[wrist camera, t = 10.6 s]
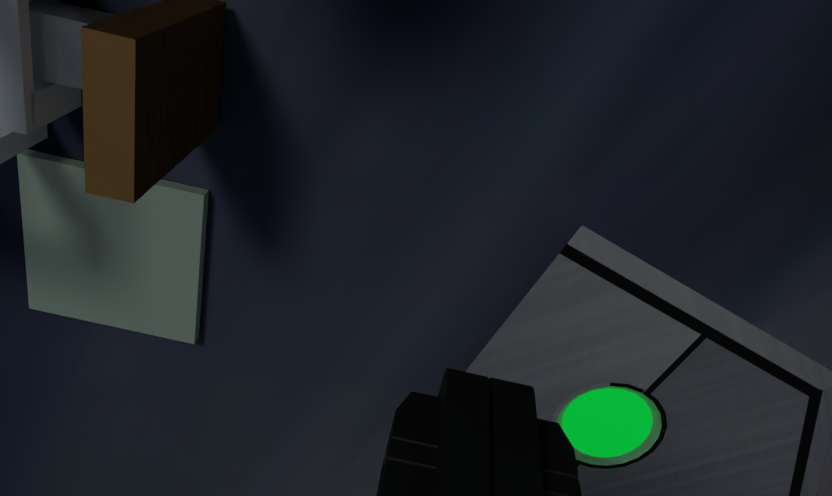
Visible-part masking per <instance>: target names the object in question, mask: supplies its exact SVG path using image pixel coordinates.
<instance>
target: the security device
mask: <svg viewBox="0 0 832 496" xmlns="http://www.w3.org/2000/svg"><path fill="white" fill-rule="evenodd" d="M465 372H468V373H473V374H477V375H482V376H486V377H488V378H489V379H490V378H491V377H492V378H496V379H501V380H506V381H510V382H515V383H519V384H524V385H529V386H532V387H533V388H534V392H535V401H536V412H537V418H538V419H542V420H547V421H552V422H556V423H559V425H560V426H561V428H562V430H563V431H564V433H565V434H566V436H567V438H568V439H569V441H570V442H571V444H572V446H573V447H574V451H575V457H576V463H577V469H578V480H579V482H580V488H581V495H582V496H817V492H818V488H819V484H820V479H821V475H822V471H823V467H824V463H825V459H826V455H827V451H828V447H829V443H830V438H831V434H832V371H830V370H829V369H827V368H825V367H823V366H822V365H820V364H818V363H817V362H815V361H813V360H812V359H810V358H808V357H806V356H805V355H803V354H801V353H800V352H798V351H796V350H794V349H793V348H791V347H789V346H788V345H786V344H784V343H782V342H781V341H779V340H777V339H776V338H774V337H772V336H770V335H769V334H767V333H765V332H764V331H762V330H760V329H759V328H757V327H755V326H753V325H752V324H750V323H748V322H747V321H745V320H743V319H741V318H740V317H738V316H736V315H735V314H733V313H731V312H729V311H728V310H726V309H724V308H723V307H721V306H719V305H717V304H716V303H714V302H712V301H711V300H709V299H707V298H705V297H704V296H702V295H700V294H699V293H697V292H695V291H694V290H692V289H690V288H688V287H687V286H685V285H683V284H682V283H680V282H678V281H676V280H675V279H673V278H671V277H670V276H668V275H666V274H664V273H663V272H661V271H659V270H658V269H656V268H654V267H652V266H651V265H649V264H647V263H646V262H644V261H642V260H640V259H639V258H637V257H635V256H634V255H632V254H630V253H629V252H627V251H625V250H623V249H622V248H620V247H618V246H617V245H615V244H613V243H611V242H610V241H608V240H606V239H605V238H603V237H601V236H599V235H598V234H596V233H594V232H593V231H591V230H589V229H587V228H586V227H584V226H581V227H580V228H579V230H578V231H577V232H576V233H575V235H574V236H573V237H572V238H571V240H570V241H569V242H568V243H567V245H566V246H565V247H564V248H563V250H562V251H561V252H560V253H559V255H558V256H557V257H556V258H555V260H554V261H553V262H552V263H551V265H550V266H549V267H548V268H547V270H546V271H545V272H544V273H543V275H542V276H541V277H540V279H539V280H538V281H537V282H536V284H535V285H534V286H533V287H532V289H531V290H530V291H529V292H528V294H527V295H526V296H525V297H524V299H523V300H522V301H521V302H520V304H519V305H518V306H517V307H516V309H515V310H514V311H513V312H512V314H511V315H510V316H509V317H508V319H507V320H506V321H505V322H504V324H503V325H502V326H501V327H500V329H499V330H498V331H497V333H496V334H495V335H494V336H493V338H492V339H491V340H490V341H489V343H488V344H487V345H486V346H485V348H484V349H483V350H482V351H481V353H480V354H479V355H478V356H477V358H476V359H475V360H474V361H473V363H472V364H471V365H470V366H469V368H468V369H467V370H466V371H465Z"/></svg>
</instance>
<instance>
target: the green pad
mask: <svg viewBox="0 0 832 496" xmlns="http://www.w3.org/2000/svg"><path fill="white" fill-rule="evenodd" d="M17 161H18V174H19V187H20V199H21V212H22V224H23V237H24V249H25V262H26V274H27V287H28V299H29V308H30V309H35V310H39V311H44V312H49V313H53V314H58V315H62V316H67V317H72V318H76V319H81V320H85V321H90V322H95V323H99V324H104V325H108V326H113V327H118V328H122V329H127V330H131V331H136V332H141V333H145V334H150V335H154V336H159V337H164V338H168V339H173V340H177V341H182V342H187V343H191V344H195V342H196V341H197V339H198V337H199V327H200V312H201V298H202V284H203V269H204V255H205V240H206V226H207V211H208V197H209V190H206V189H202V188H198V187H193V186H189V185H184V184H180V183H175V182H171V181H166V180H162V179H161V180H160V181H158V182H157V183H156V184H155V185H154V186H153V187H152V188H151V189H150V190H148V191H147V192H146V193H145V194H144V195H143V196H142V197H141V198H140V199H138V200H137V201H136V202H135V203H134V204H133V203H129V202H124V201H120V200H116V199H111V198H107V197H102V196H98V195H93V194H89V193H85V163H84V162H82V161H78V160H73V159H69V158H64V157H60V156H55V155H51V154H47V153H42V152H38V151H33V150H29V149H26V150H24V151H23V152H21V153H19V154H17Z"/></svg>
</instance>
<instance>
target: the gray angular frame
mask: <svg viewBox="0 0 832 496" xmlns="http://www.w3.org/2000/svg"><path fill="white" fill-rule="evenodd" d="M28 1H32V0H0V164H1V163H3V162H5V161H7V160H8V159H10V158H12V157H14V156H16V155H17V154H19V153H21V152H23V151H24V150H26V149H28V148H30V147H32V146H33V145H35V144H37V143H39V142H41V141H42V140H44V139H46V138H48V136H47V124H48V123H50V122H52V121H54V120H56V119H58V118H60V117H62V116H63V115H65V114H67V113H69V112H71V111H73V110H75V109H77V108H79V107H81V89H79V88H74V87H70V86H66V85H61V84H57V83H52V82H48V81H44V80H39V79H35V78H33V68H32V52H31V36H30V21H29V5H28Z"/></svg>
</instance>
